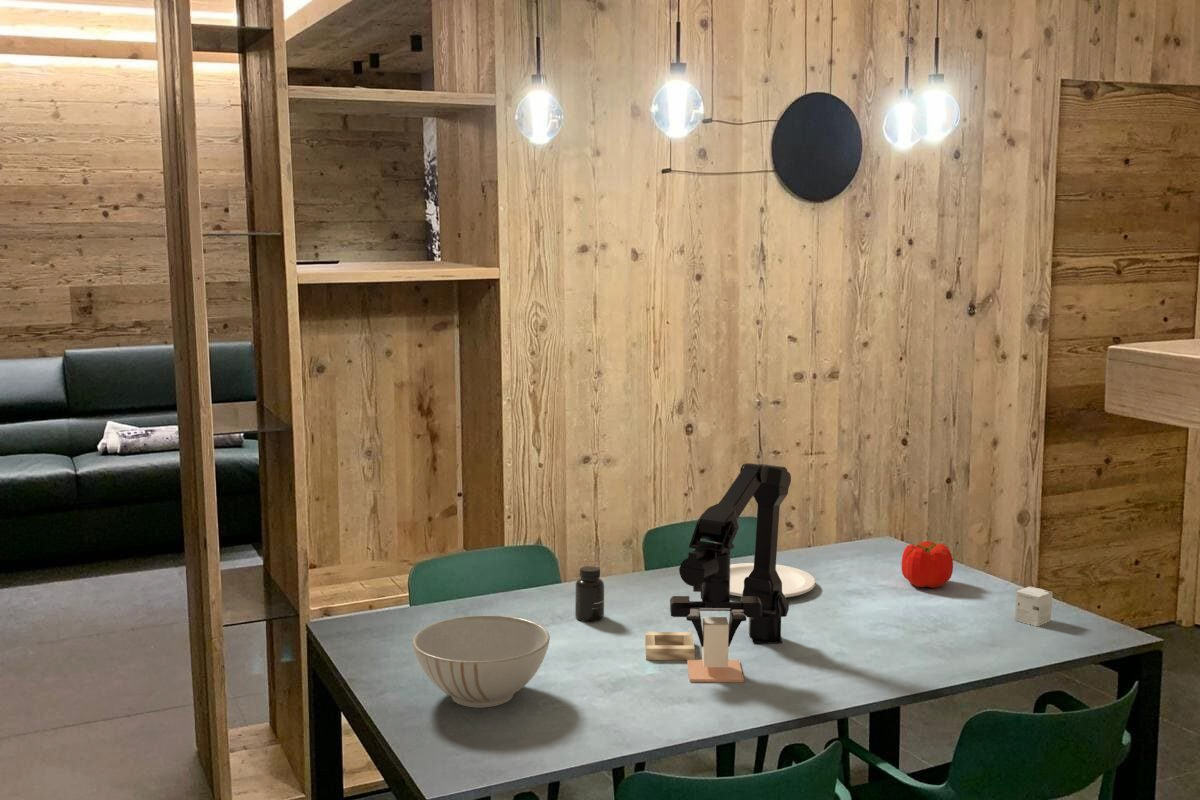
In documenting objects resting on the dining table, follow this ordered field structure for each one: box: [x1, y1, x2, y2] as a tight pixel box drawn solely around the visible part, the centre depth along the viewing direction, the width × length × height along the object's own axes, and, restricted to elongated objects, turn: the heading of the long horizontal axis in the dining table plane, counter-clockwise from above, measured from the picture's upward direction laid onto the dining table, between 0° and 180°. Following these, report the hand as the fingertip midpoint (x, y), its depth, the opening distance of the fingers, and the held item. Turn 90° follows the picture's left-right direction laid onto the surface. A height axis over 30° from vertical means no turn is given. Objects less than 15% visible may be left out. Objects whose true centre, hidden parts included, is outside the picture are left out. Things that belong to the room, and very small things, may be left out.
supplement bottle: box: [574, 565, 605, 623], centre depth 282 cm, size 7×7×12 cm
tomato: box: [901, 540, 954, 589], centre depth 307 cm, size 14×13×10 cm
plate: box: [730, 562, 816, 598], centre depth 307 cm, size 28×28×2 cm
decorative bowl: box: [412, 614, 550, 709], centre depth 236 cm, size 27×27×12 cm
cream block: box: [701, 616, 729, 667], centre depth 248 cm, size 5×5×9 cm
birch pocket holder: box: [644, 631, 696, 661], centre depth 261 cm, size 10×10×2 cm
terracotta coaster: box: [686, 659, 745, 683], centre depth 249 cm, size 11×11×1 cm
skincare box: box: [1014, 586, 1054, 627], centre depth 279 cm, size 6×6×7 cm
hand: (715, 646), depth 248 cm, fingers closed on cream block, 5 cm apart
